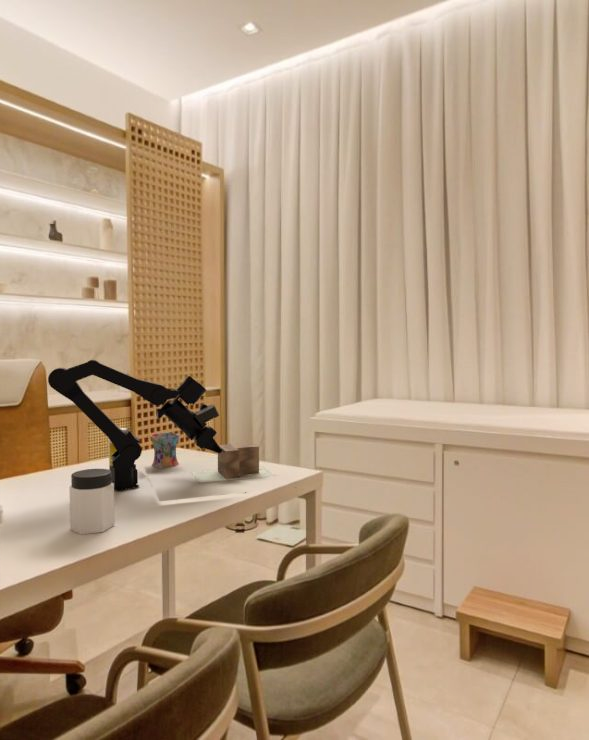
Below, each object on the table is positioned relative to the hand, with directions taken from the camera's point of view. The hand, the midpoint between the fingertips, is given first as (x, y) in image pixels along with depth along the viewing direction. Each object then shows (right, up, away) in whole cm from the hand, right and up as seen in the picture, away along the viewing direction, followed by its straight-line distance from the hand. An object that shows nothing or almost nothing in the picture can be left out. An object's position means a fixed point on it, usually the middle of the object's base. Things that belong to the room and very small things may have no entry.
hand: (220, 452), depth 158 cm
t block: (+5, -7, +2) cm, 9 cm away
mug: (-20, -7, +16) cm, 26 cm away
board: (+4, -8, +2) cm, 9 cm away
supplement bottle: (-34, -8, +13) cm, 37 cm away
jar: (-22, -10, -42) cm, 49 cm away
